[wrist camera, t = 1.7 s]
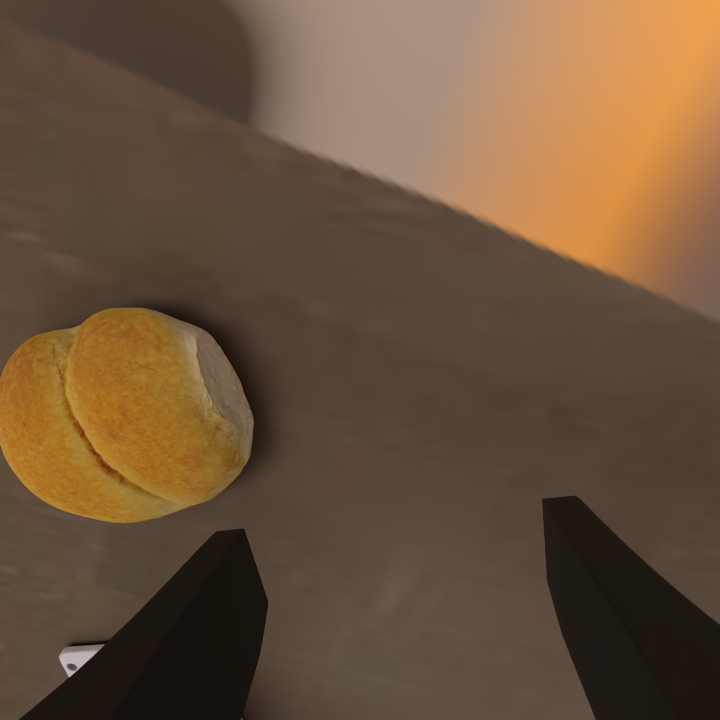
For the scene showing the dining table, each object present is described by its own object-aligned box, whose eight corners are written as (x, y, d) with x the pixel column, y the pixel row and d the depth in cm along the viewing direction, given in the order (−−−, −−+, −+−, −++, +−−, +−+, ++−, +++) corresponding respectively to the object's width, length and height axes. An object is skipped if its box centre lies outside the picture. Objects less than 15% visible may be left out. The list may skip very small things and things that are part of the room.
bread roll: (-9, 351, 20) (-102, 398, 16) (192, 273, 18) (139, 305, 14) (103, 516, 23) (45, 588, 19) (287, 462, 21) (263, 530, 17)
